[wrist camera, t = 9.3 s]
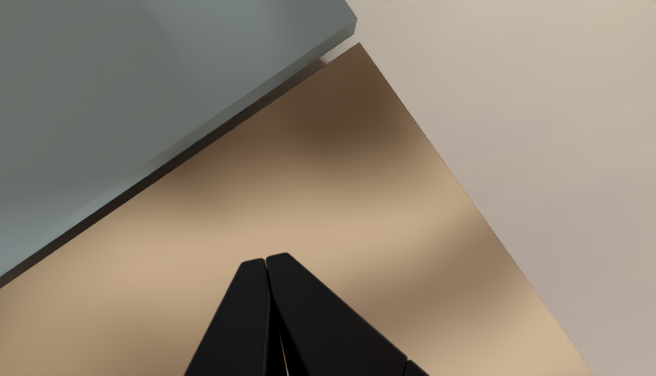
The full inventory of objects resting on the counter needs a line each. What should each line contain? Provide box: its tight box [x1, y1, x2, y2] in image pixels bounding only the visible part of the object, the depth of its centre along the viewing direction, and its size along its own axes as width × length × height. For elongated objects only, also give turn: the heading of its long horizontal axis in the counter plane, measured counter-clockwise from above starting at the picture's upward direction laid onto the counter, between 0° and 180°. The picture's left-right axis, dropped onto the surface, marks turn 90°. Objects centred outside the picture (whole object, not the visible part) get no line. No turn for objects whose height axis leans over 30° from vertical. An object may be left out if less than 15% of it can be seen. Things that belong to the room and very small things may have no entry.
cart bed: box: [0, 42, 595, 376], centre depth 15 cm, size 13×18×5 cm
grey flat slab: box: [0, 0, 357, 276], centre depth 13 cm, size 2×18×10 cm
